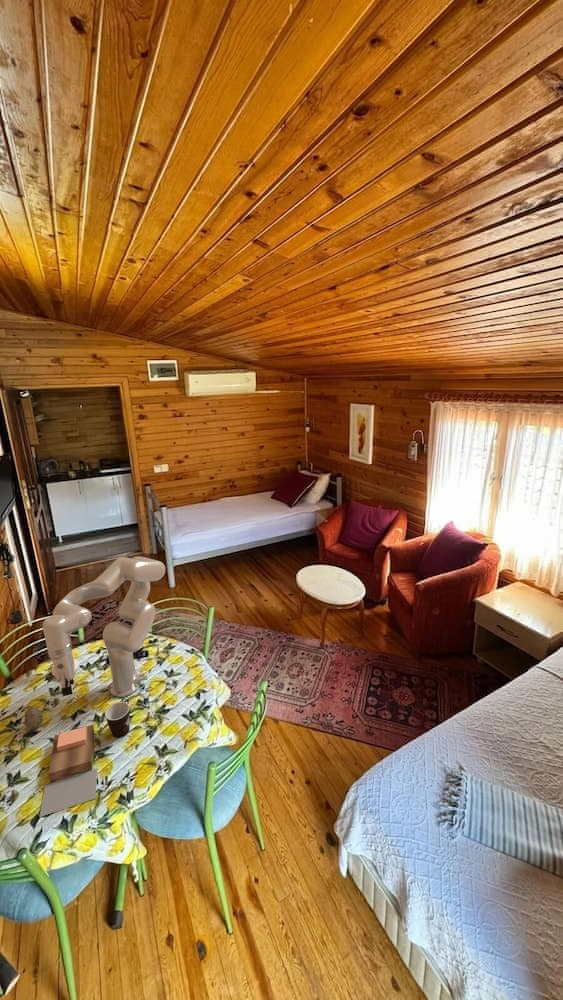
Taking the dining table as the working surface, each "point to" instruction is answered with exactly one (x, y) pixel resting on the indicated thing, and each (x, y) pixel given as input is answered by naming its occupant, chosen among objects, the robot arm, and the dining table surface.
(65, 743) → the salmon orange flat block
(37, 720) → the decorative egg
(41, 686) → the dining table surface
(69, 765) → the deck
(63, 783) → the mat
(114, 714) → the coffee mug
